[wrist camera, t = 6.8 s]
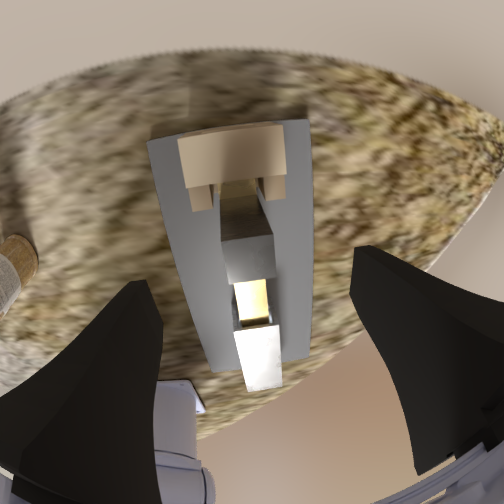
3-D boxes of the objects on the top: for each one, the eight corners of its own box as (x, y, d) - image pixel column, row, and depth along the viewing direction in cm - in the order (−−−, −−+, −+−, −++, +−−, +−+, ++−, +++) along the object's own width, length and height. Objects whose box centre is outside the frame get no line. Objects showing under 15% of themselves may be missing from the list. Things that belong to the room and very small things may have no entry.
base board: (212, 365, 27) (212, 372, 26) (150, 139, 16) (146, 141, 15) (306, 349, 27) (309, 357, 26) (304, 118, 16) (309, 119, 15)
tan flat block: (241, 320, 22) (251, 392, 16) (215, 161, 15) (213, 197, 9) (266, 316, 22) (282, 387, 16) (249, 156, 15) (270, 189, 9)
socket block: (196, 194, 17) (191, 216, 14) (185, 133, 15) (177, 139, 12) (275, 183, 17) (288, 202, 14) (269, 121, 15) (282, 124, 12)
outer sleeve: (244, 365, 26) (247, 391, 23) (231, 302, 21) (233, 332, 19) (276, 360, 26) (282, 386, 23) (271, 296, 22) (279, 324, 19)
